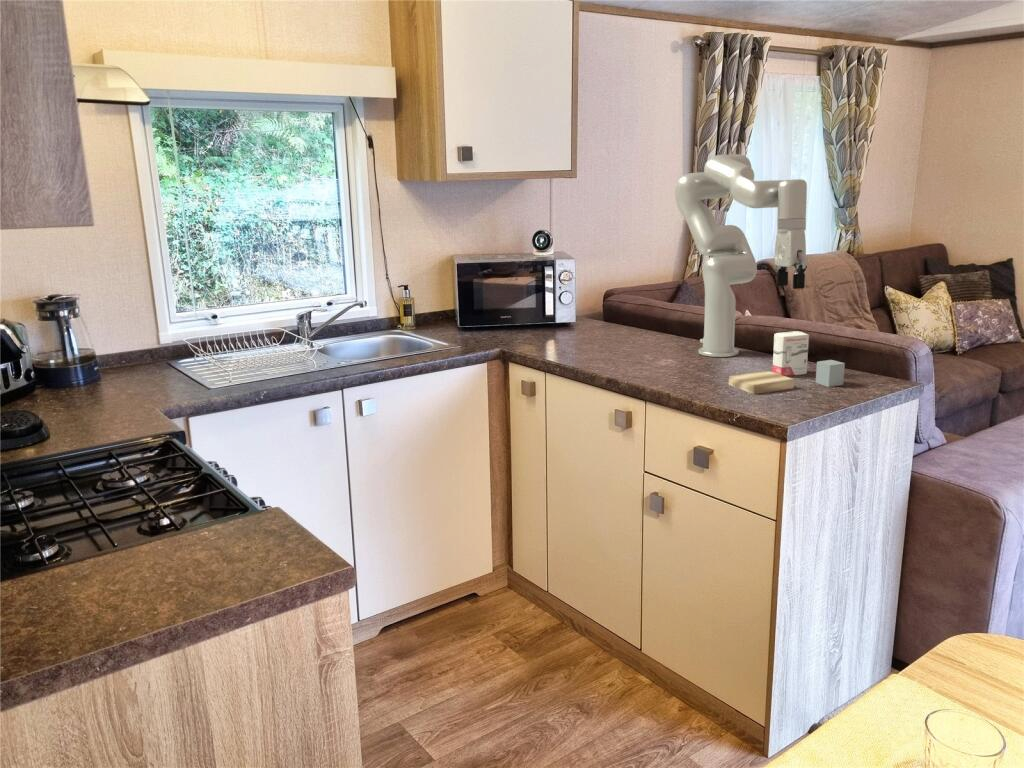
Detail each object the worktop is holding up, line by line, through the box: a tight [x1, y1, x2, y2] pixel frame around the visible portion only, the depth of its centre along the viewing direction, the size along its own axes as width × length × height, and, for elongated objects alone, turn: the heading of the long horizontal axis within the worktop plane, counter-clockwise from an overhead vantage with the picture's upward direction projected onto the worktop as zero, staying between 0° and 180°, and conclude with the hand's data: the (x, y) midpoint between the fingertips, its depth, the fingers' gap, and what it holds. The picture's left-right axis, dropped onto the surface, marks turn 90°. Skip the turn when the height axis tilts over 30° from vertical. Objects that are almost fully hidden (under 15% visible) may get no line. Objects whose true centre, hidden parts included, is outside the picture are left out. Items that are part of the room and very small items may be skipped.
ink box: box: [772, 330, 810, 377], centre depth 229 cm, size 9×5×12 cm, turn 105°
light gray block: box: [815, 359, 846, 388], centre depth 218 cm, size 5×5×6 cm
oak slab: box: [728, 370, 795, 395], centre depth 218 cm, size 11×13×3 cm
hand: (790, 287), depth 225 cm, fingers open, 9 cm apart
